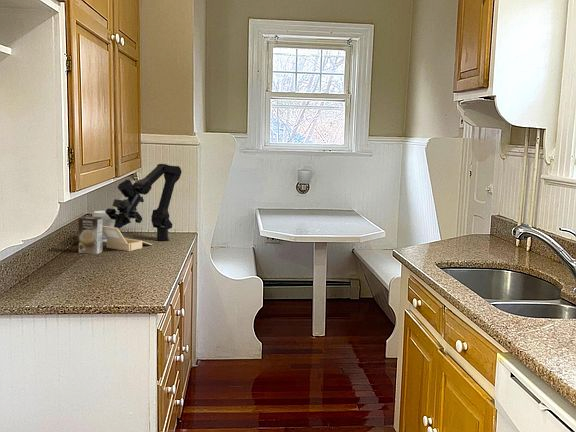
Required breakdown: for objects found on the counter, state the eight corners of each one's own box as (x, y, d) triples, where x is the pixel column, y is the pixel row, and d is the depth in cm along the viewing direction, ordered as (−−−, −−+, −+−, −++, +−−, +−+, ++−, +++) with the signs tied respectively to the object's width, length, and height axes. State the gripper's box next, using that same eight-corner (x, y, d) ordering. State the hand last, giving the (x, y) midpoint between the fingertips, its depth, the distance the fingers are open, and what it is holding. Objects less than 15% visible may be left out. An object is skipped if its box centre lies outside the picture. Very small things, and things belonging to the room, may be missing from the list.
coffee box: (77, 253, 270) (77, 217, 268) (84, 250, 277) (83, 215, 274) (97, 254, 270) (97, 218, 267) (103, 251, 276) (102, 216, 274)
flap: (98, 225, 277) (97, 225, 276) (117, 227, 271) (116, 228, 271) (108, 239, 283) (107, 240, 283) (127, 242, 277) (126, 243, 277)
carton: (131, 242, 300) (131, 234, 299) (154, 245, 293) (154, 238, 292) (105, 247, 284) (105, 239, 284) (129, 251, 277) (129, 243, 277)
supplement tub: (89, 241, 298) (88, 212, 296) (101, 238, 307) (101, 209, 305) (105, 243, 295) (105, 213, 293) (117, 240, 304) (117, 211, 302)
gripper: (107, 191, 284) (90, 217, 276) (137, 194, 276) (120, 221, 268) (119, 205, 292) (103, 231, 285) (149, 209, 284) (133, 235, 276)
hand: (114, 229), depth 278 cm, fingers closed
